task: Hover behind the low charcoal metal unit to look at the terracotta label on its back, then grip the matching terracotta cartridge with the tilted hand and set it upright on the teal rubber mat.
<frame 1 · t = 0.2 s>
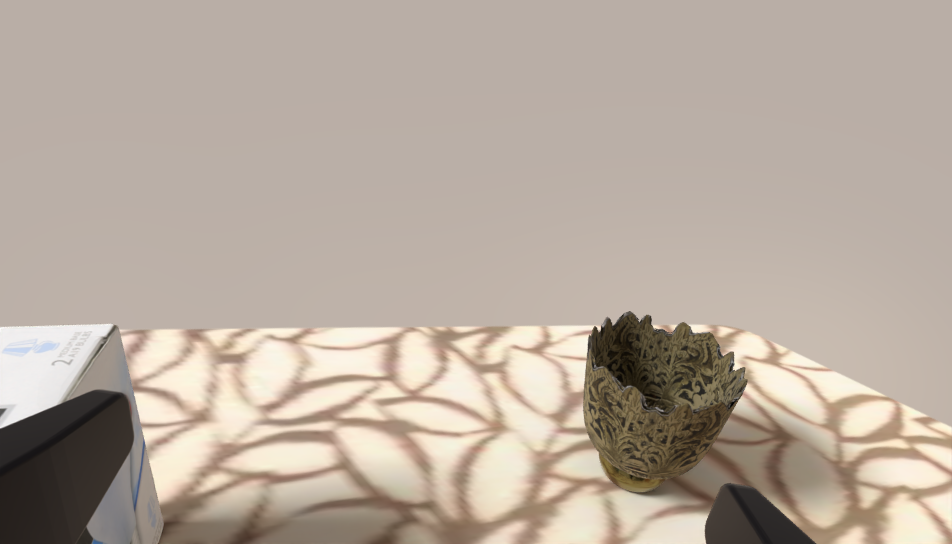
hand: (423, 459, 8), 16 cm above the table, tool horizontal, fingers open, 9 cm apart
cup: (629, 474, 31), on the table
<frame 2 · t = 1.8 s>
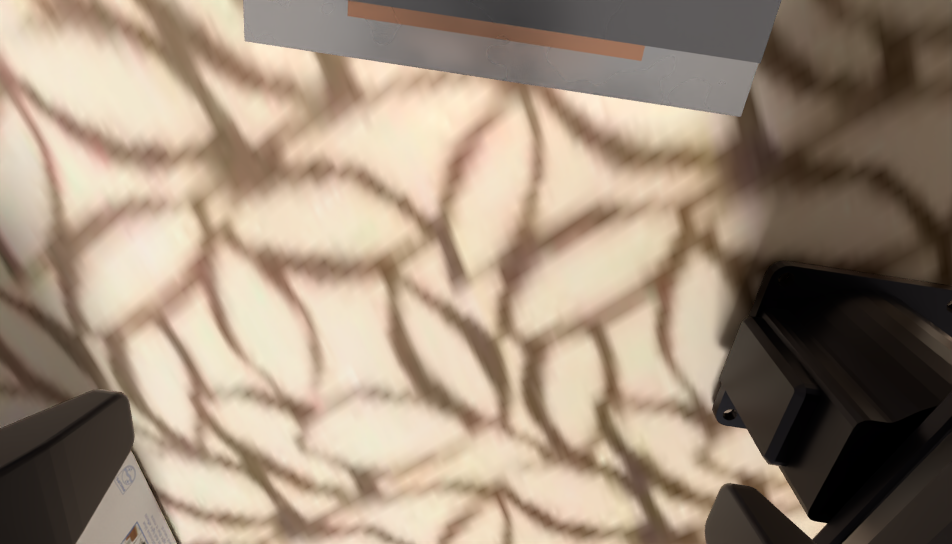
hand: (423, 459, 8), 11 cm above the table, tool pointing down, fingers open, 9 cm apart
light bulb box: (60, 505, 26), on the table
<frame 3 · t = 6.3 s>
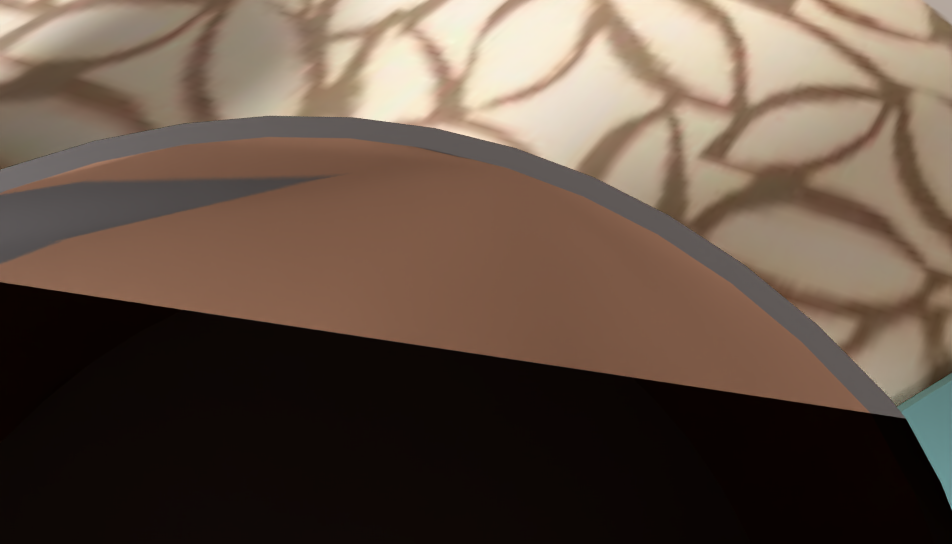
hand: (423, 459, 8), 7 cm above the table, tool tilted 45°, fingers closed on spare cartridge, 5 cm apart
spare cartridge: (424, 521, 15), on the table, touching gripper
when the fingers open (9 cm above the table, at t = 10.4 s): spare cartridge drops 1 cm, resting on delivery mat.
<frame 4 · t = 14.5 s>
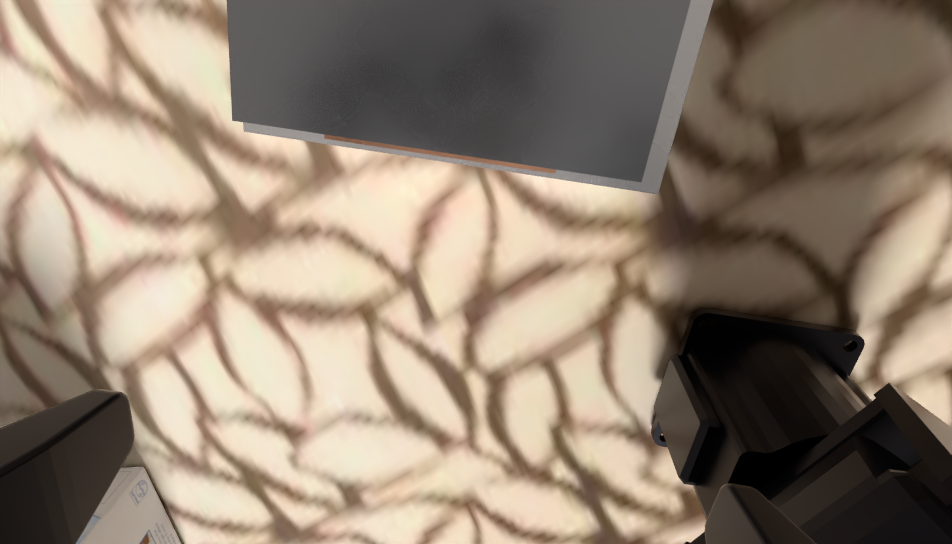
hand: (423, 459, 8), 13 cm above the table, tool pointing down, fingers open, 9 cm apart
light bulb box: (79, 515, 29), on the table
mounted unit: (466, 49, 18), on the table
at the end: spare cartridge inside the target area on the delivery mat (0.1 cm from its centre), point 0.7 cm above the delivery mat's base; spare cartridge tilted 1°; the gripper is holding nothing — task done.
